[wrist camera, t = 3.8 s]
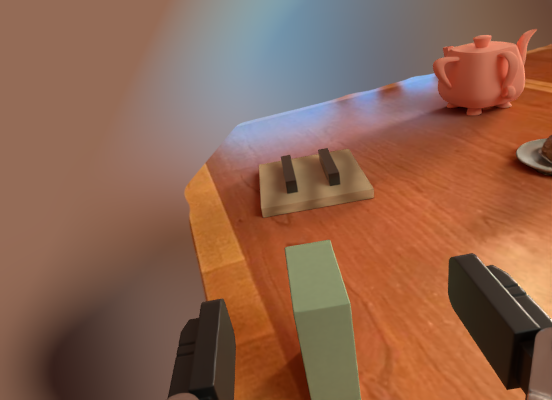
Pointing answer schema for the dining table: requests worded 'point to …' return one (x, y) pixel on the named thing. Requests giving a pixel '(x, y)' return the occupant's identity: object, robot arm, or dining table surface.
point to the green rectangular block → (323, 321)
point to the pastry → (537, 155)
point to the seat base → (312, 182)
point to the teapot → (482, 73)
